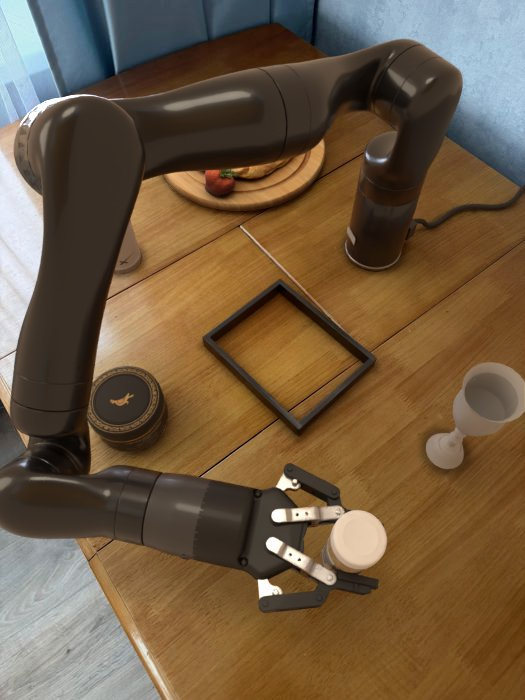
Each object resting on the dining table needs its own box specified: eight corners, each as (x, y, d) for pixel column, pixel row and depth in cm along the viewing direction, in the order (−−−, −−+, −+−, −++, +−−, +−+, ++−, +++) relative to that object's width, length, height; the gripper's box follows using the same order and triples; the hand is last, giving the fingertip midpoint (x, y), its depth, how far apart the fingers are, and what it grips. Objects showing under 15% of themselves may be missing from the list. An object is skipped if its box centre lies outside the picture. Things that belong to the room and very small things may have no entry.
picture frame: (279, 287, 85) (280, 278, 83) (374, 366, 78) (377, 358, 76) (203, 345, 80) (202, 336, 78) (297, 436, 72) (298, 429, 70)
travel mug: (136, 277, 86) (105, 181, 69) (98, 271, 87) (58, 174, 70) (148, 249, 90) (121, 150, 72) (111, 243, 90) (75, 144, 73)
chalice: (436, 416, 74) (482, 350, 58) (480, 446, 72) (540, 385, 56) (408, 455, 71) (449, 397, 55) (453, 487, 69) (509, 436, 53)
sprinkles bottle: (350, 594, 54) (374, 577, 42) (310, 571, 55) (323, 547, 43) (368, 553, 56) (396, 525, 44) (329, 531, 57) (346, 498, 45)
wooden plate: (269, 240, 91) (270, 204, 83) (124, 173, 99) (113, 135, 92) (353, 137, 104) (360, 98, 97) (219, 86, 113) (216, 47, 106)
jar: (185, 422, 73) (177, 398, 67) (127, 472, 70) (113, 451, 63) (141, 377, 77) (130, 350, 70) (83, 421, 73) (66, 397, 67)
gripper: (174, 594, 44) (380, 641, 42) (215, 435, 51) (394, 469, 49) (185, 602, 50) (365, 643, 49) (221, 460, 57) (379, 491, 56)
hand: (378, 556), depth 49 cm, fingers closed on sprinkles bottle, 4 cm apart
